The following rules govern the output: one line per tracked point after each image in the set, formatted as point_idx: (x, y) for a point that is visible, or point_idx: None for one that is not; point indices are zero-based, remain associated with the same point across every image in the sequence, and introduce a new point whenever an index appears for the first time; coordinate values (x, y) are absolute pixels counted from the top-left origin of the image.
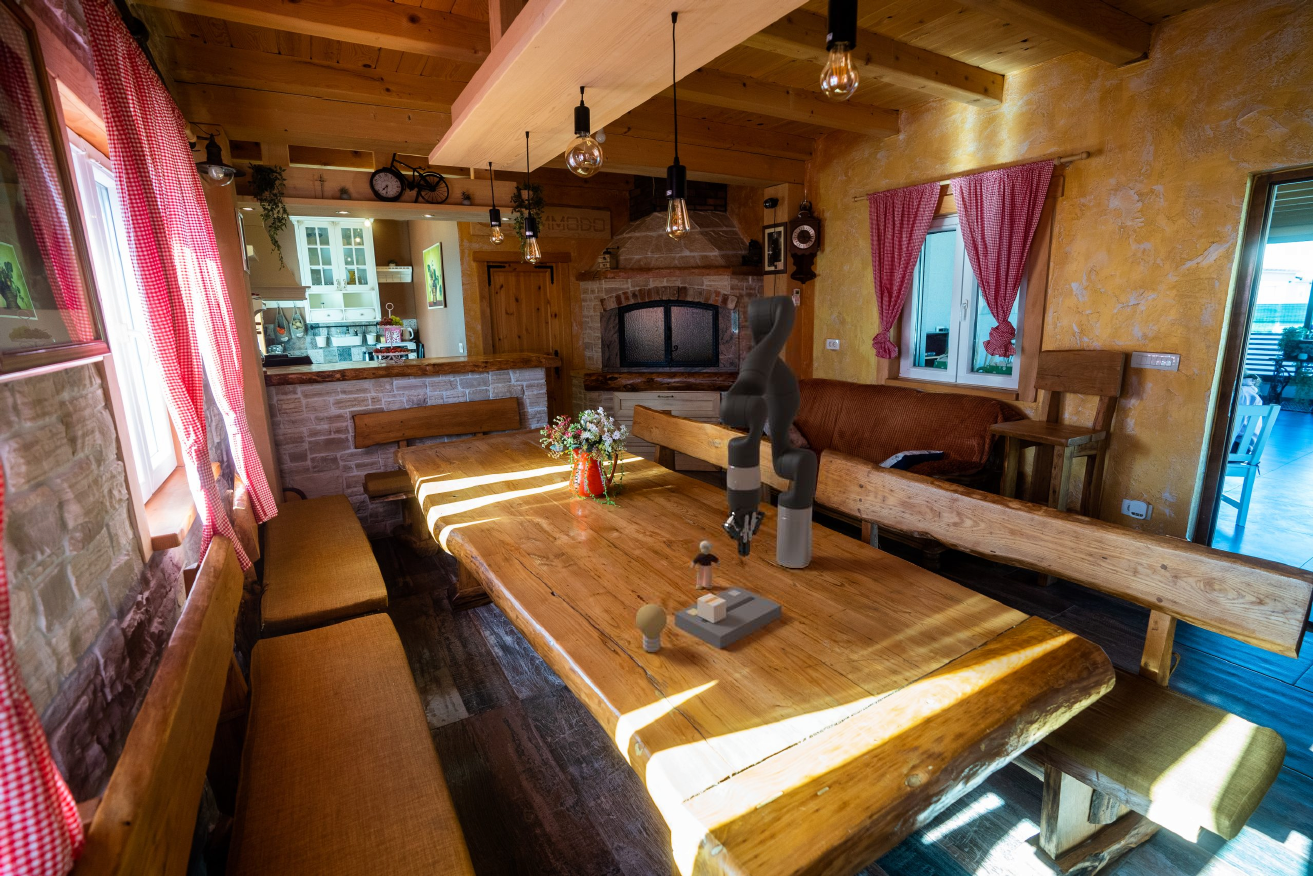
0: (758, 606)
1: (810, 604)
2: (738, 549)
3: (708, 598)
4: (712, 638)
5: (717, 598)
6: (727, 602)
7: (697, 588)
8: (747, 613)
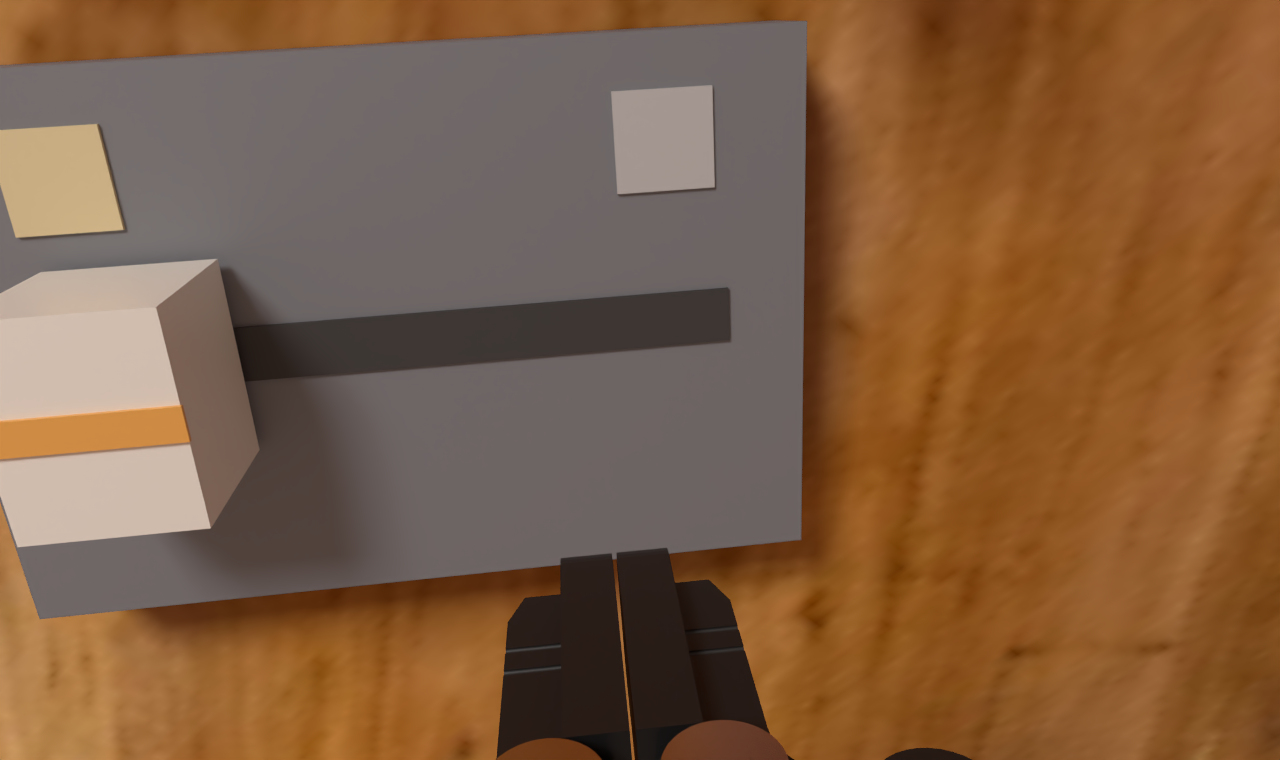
0: (640, 454)
1: (1081, 484)
2: (508, 674)
3: (65, 393)
4: None
5: (158, 446)
6: (473, 239)
7: None
8: (477, 484)
